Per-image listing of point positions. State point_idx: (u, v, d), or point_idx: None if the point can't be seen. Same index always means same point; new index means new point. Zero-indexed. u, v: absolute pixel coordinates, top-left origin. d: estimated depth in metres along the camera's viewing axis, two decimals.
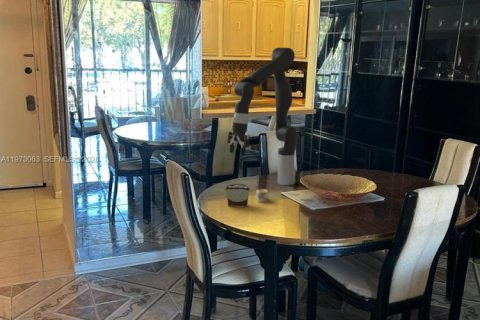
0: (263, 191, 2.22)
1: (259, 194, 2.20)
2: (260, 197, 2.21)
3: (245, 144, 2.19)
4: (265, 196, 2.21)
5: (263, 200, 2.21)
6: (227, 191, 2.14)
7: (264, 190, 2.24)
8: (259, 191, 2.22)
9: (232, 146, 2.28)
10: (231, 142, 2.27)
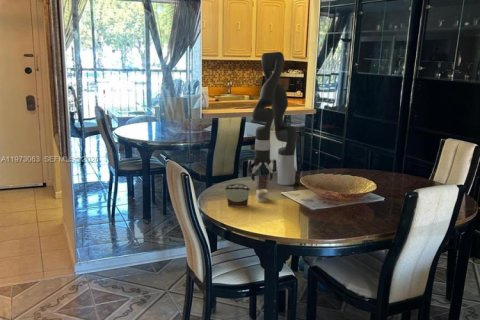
0: (263, 191, 2.22)
1: (259, 194, 2.20)
2: (260, 197, 2.21)
3: None
4: (265, 196, 2.21)
5: (263, 200, 2.21)
6: (227, 191, 2.14)
7: (264, 190, 2.24)
8: (259, 191, 2.22)
9: None
10: (254, 170, 2.18)
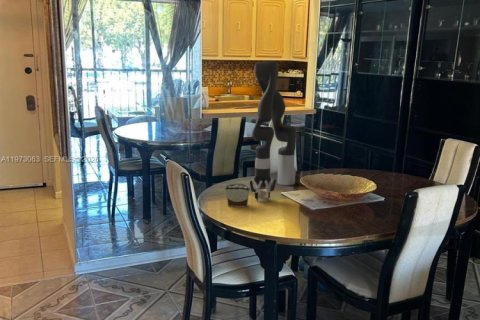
0: (263, 191, 2.22)
1: (259, 194, 2.20)
2: (260, 196, 2.21)
3: None
4: (266, 196, 2.21)
5: (263, 200, 2.21)
6: (227, 191, 2.14)
7: (264, 190, 2.24)
8: (259, 191, 2.22)
9: None
10: (257, 189, 2.21)
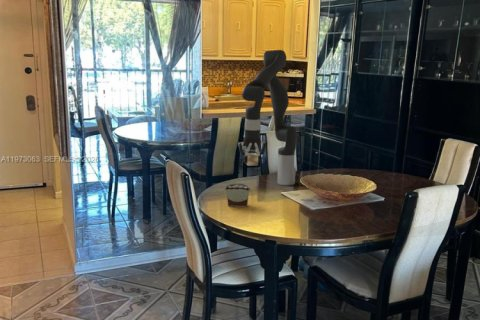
0: (253, 154, 2.14)
1: (249, 157, 2.13)
2: (249, 160, 2.13)
3: None
4: (255, 159, 2.13)
5: (253, 163, 2.14)
6: (227, 191, 2.14)
7: (254, 154, 2.16)
8: (249, 154, 2.14)
9: None
10: (247, 152, 2.13)
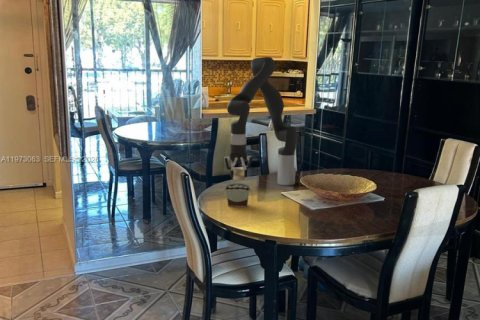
0: (239, 168, 2.13)
1: (235, 171, 2.11)
2: (235, 174, 2.11)
3: None
4: (241, 174, 2.12)
5: (239, 178, 2.12)
6: (227, 191, 2.14)
7: (240, 168, 2.14)
8: (235, 168, 2.13)
9: (233, 171, 2.13)
10: (233, 167, 2.12)
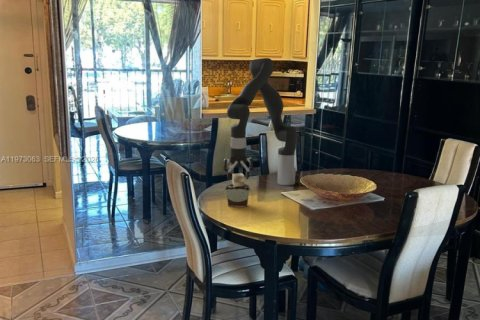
0: (239, 175, 2.14)
1: (235, 178, 2.12)
2: (235, 181, 2.12)
3: None
4: (242, 180, 2.13)
5: (239, 184, 2.13)
6: (227, 191, 2.14)
7: (240, 174, 2.15)
8: (235, 175, 2.13)
9: None
10: (230, 169, 2.12)
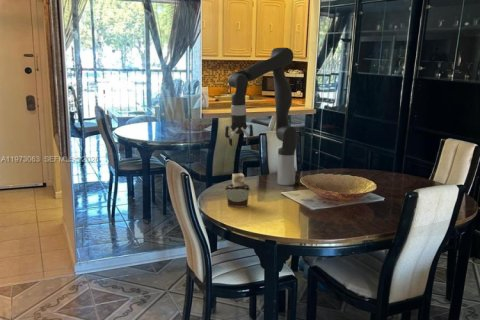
0: (239, 175, 2.13)
1: (235, 178, 2.12)
2: (235, 181, 2.12)
3: None
4: (241, 180, 2.13)
5: (239, 184, 2.13)
6: (227, 191, 2.14)
7: (240, 174, 2.15)
8: (235, 175, 2.13)
9: None
10: (232, 135, 2.26)
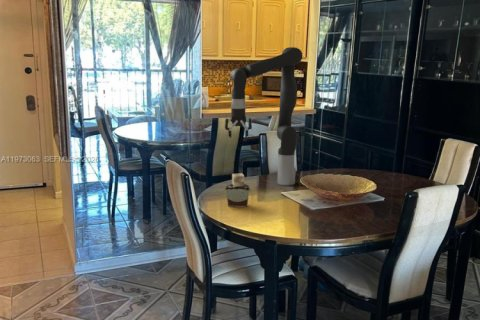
0: (239, 175, 2.13)
1: (235, 178, 2.12)
2: (235, 181, 2.12)
3: (251, 126, 2.38)
4: (241, 180, 2.13)
5: (239, 184, 2.13)
6: (227, 191, 2.14)
7: (240, 174, 2.15)
8: (235, 175, 2.13)
9: None
10: (231, 128, 2.36)
